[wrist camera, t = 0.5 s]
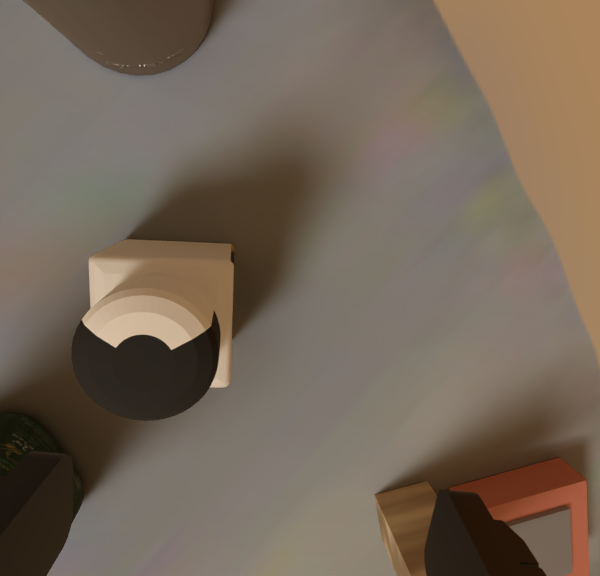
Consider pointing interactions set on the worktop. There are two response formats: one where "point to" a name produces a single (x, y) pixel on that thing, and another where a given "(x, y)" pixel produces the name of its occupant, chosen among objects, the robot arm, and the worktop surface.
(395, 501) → the column
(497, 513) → the stand base
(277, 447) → the worktop surface
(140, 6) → the robot arm
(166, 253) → the medicine bottle
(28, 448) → the coffee jar
